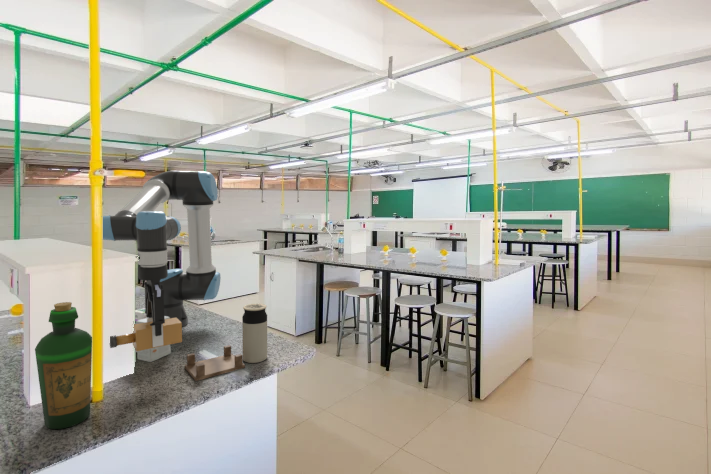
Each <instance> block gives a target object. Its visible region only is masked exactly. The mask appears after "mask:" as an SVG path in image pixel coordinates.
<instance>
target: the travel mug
mask: <svg viewBox="0 0 711 474" xmlns="http://www.w3.org/2000/svg"><path fill="white" fill-rule="evenodd" d="M242 308H243V311H244V313H243V314H242V320H241V321H242V359H243V361H244V362H245V363H247V364H256V363H261V362H263V361H265V360H267V358H268V314H267V312H266V308H267V305H266V304H264V303H259V302H258V303H249V304H248V303H247V304H245V305H244V306H243V307H242Z"/></svg>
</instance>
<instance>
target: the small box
mask: <svg viewBox="0 0 711 474" xmlns="http://www.w3.org/2000/svg"><path fill="white" fill-rule="evenodd" d="M164 318H165V319H170V317H168V316H164ZM146 322H147V318H145V319H141V320H138V321H136V324H140V323H146ZM136 353H137V354H136V355H137V360H139V361H145V362H148V363H151V362H154V361H156V360H159V359H161V358H163V357H165V356H168V355H170V354H171V353H172V352H171V344H170V345H165V346H160V347H155V348H150V349H146V350H141V351H137V352H136Z"/></svg>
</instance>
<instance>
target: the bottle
mask: <svg viewBox="0 0 711 474" xmlns="http://www.w3.org/2000/svg"><path fill="white" fill-rule="evenodd" d="M53 306H54V309H53V308H52V309H51V310H50V312H49V317H48V323H51V324H52V325H51V326H52V331H50V332H49V333H47V334H46V335H44V336H43V337H41V339H40V340H39V341H38V343H37V345H36V346H35V348H34V352H35V361H36V368H37V376H38V383H39V391H40V392H39V393H40V399H41V406H42V413H43V414H42V415H43V421H44V426H45V427H46V428H48V429H50V430H58V429H59V430H61V429H66V428H67V429H68V428H71V427H73V426H76V425H78V424H80V423H82V422H84V421H85V420H86V419H88V418H89V417H90V415H91V394H92V391H91V390H92V388H91V387H92V361H93V360H92V358H93V357H92V354H93V352H92V351H93V336H92V335H91V334H90V333H89V332H87V331H86V330H83V329H81V328H78V327H76V320H77V319H78V318H79V315H78V311H77V308H76V307H75V306H72V302H71V301H69V302H68V301H65V302H58V303H55V304H53Z"/></svg>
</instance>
